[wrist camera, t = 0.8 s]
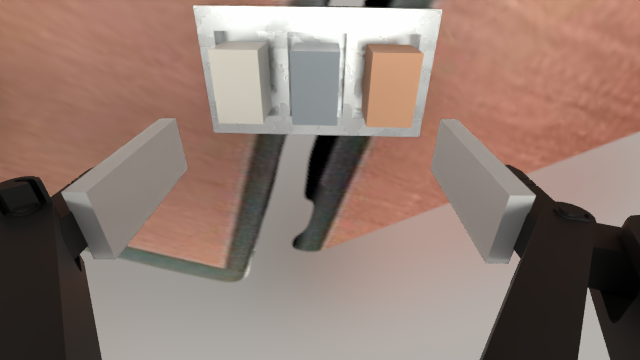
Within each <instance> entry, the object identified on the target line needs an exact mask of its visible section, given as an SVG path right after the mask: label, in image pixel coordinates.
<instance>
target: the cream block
mask: <svg viewBox="0 0 640 360" xmlns="http://www.w3.org/2000/svg"><path fill="white" fill-rule="evenodd" d="M207 50H208V56H209V63H210V69H211V76H212V82H213V89H214V95H215V102H216V108H217V114H218V121H219V123H229V124H264V122H265V120H266V118H267V116H268V114H269V112H270V110H271V108H272V101H271V86H270V71H269V55H268V42H239V41H224V42H222V43H220V44H218V45H216V46H214V47H211V48H209V49H207Z"/></svg>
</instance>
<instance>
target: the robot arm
mask: <svg viewBox="0 0 640 360" xmlns="http://www.w3.org/2000/svg"><path fill="white" fill-rule="evenodd" d="M187 169H188V167H187V163H186V159H185V155H184V151H183V146H182V142H181V138H180V134H179V130H178V126H177V122H176V118H160V119H158V120H157V121H156V122H154V123H153V124H152V125H150V126H149V127H148V128H146V129H145V130H144V131H142V132H141V133H140V134H138V135H137V136H136V137H134V138H133V139H132V140H130V141H129V142H128V143H126V144H125V145H124V146H122V147H121V148H120V149H118V150H117V151H116V152H114V153H113V154H112V155H110V156H109V157H108V158H106V159H105V160H103V161H102V162H101V163H99V164H98V165H97V166H95V167H93V168H91V169H89V170H87V171H86V172H84V173H83V174H82V175H80V176H79V178H76V179H75V180H73V181H72V182H71V184H68V185H67V186H65V187H64V188H63V189H61V190H60V191H59V192H57V193H56V194H55V195H53V196H52V197H50V196H49V194H48V192H47V190H46V188H45V186H44V185H43V183H42V181H41V179H40V178H39V177H35V176H25V177H19V178H14V179H10V180H7V181H4V182H1V183H0V360H102V358H101V352H100V347H99V341H98V336H97V331H96V325H95V320H94V314H93V309H92V304H91V298H90V293H89V287H88V282H87V276H86V271H85V265H84V261H83V259H82V258H81V256H80V253H81V252H82V251H83V250H84V249H85V248H86V247H87V246H88V248H89V250H90V252H91V254H92V256H93V258H94V259H116V258H117V257H118V256H119V255H120V253H121V252H122V251H123V250H124V248H125V247H126V246H127V245H128V243H129V242H130V241H131V240H132V238H133V237H134V236H135V235H136V233H137V232H138V231H139V229H140V228H141V227H142V226H143V224H144V223H145V222H146V221H147V219H148V218H149V217H150V216H151V214H152V213H153V212H154V211H155V209H156V208H157V207H158V206H159V204H160V203H161V202H162V200H163V199H164V198H165V197H166V195H167V194H168V193H169V192H170V190H171V189H172V188H173V187H174V185H175V184H176V183H177V182H178V180H179V179H180V178H181V177H182V175H183V174H184V173H185V171H186V170H187ZM431 171H432V173H433V175H434V176H435V178H436V180H437V182H438V183H439V185H440V187H441V188H442V190H443V192H444V193H445V195H446V197H447V199H448V200H449V202H450V204H451V205H452V207H453V209H454V210H455V212H456V214H457V215H458V217H459V219H460V220H461V222H462V224H463V226H464V227H465V229H466V230H467V232H468V234H469V236H470V237H471V239H472V241H473V243H474V244H475V246H476V248H477V249H478V251H479V253H480V254H481V256H482V258H483V259H484V261H485V263H505V264H506V263H509V261H510V258H511V256H512V254H513V251H514V250H515V251H516V253H517V254H518V256H519V257H520V258H521V260H520V262H519V264H518V266H517V269H516V271H515V273H514V276H513V278H512V280H511V284H510V286H509V288H508V291H507V294H506V296H505V298H504V301H503V303H502V306H501V308H500V311H499V313H498V316H497V318H496V321H495V324H494V326H493V328H492V331H491V333H490V336H489V338H488V341H487V343H486V346H485V348H484V351H483V353H482V355H481V358H480V360H578V353H579V346H580V339H581V331H582V324H583V317H584V309H585V301H586V295H587V288H589V289H590V293H591V296H592V300H593V303H594V306H595V310H596V313H597V317H598V320H599V323H600V326H601V330H602V333H603V337H604V340H605V343H606V347H607V350H608V353H609V357H610V360H640V215H633V216H630V217H628V218H627V219H626V221H625V222H624V224H623V226H622V227H615V226H610V225H605V224H599V223H596V220H595V217H594V216H592V215H591V214H590V213H589V212H587V211H586V210H584V209H582V208H580V207H578V206H575V205H573V204H568V203H564V202H555V201H554V200H553V199H551V198H550V197H549V196H548V195H547V194H546V193H545V192H544V191H543V190H542V189H541V188H539V187H538V186H536V184H535V183H534V182H533V181H532V180H529V178H528V177H527V176H526V175H525V174H524V173H523V172H522V171H520V170H518V169H516V168H514V167H513V166H511V165H504V164H503V163H502V162H501V161H500V160H499V159H498V158H497V157H496V156H495V155H493V154H492V153H491V152H490V151H489V150H488V149H487V148H486V147H485V146H484V145H483V144H482V143H481V142H480V141H479V140H478V139H477V138H476V137H475V136H474V135H473V134H472V133H471V132H470V131H469V130H468V129H467V128H466V127H464V126H463V125H462V124H461V123H460V122H459V121H458V120H457V119H441V120H440V125H439V130H438V135H437V140H436V145H435V150H434V155H433V160H432V165H431Z"/></svg>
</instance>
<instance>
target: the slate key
mask: <svg viewBox="0 0 640 360" xmlns="http://www.w3.org/2000/svg"><path fill="white" fill-rule="evenodd" d="M339 67H340V48H339V44H338V43H296V42H295V44H294V45H293V47H292V48H291V50H290V69H291V100H292V125H326V126H337V114H338V91H339Z"/></svg>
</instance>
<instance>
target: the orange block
mask: <svg viewBox="0 0 640 360" xmlns="http://www.w3.org/2000/svg"><path fill="white" fill-rule="evenodd" d="M423 57H424V53H422V52H421V51H419V50H418V49H416V48H414V47H413V46H411V45H399V44H367V45H366V57H365V69H364V82H363V94H362V106H361V110H362V114H363V117H364V121H365V124H366V127H395V128H412V122H413V116H414V110H415V104H416V98H417V92H418V86H419V80H420V74H421V68H422V62H423Z"/></svg>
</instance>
